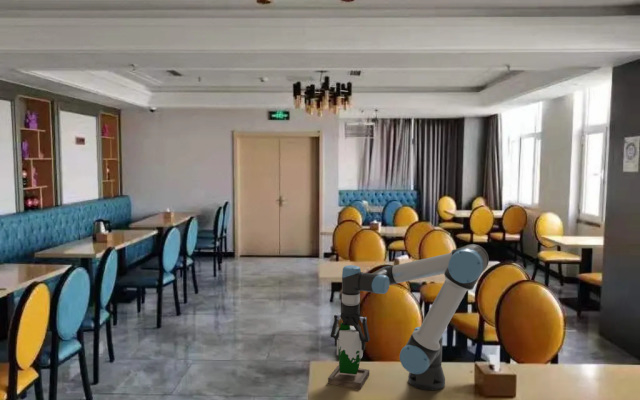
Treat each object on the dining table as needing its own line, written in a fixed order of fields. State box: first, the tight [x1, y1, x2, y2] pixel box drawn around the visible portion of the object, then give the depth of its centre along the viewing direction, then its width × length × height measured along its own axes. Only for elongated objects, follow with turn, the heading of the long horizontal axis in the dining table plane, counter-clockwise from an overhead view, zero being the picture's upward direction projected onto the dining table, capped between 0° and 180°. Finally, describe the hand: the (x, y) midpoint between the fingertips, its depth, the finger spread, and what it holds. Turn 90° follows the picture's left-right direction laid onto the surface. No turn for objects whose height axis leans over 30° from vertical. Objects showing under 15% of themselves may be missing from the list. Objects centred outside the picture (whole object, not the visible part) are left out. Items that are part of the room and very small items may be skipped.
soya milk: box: [338, 321, 362, 374], centre depth 221 cm, size 9×9×20 cm
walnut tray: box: [327, 364, 370, 390], centre depth 222 cm, size 14×14×2 cm
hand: (349, 355), depth 222 cm, fingers closed on soya milk, 9 cm apart
